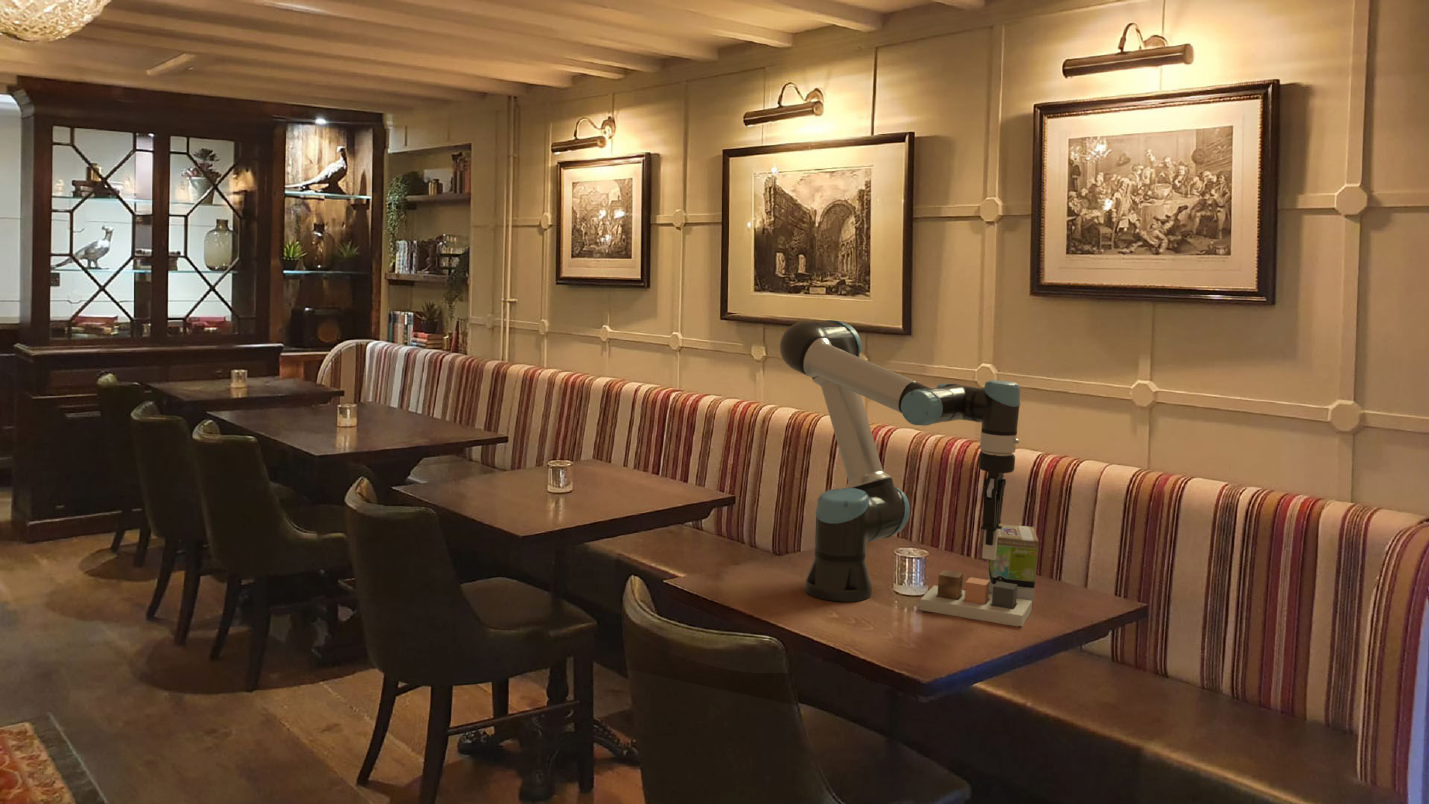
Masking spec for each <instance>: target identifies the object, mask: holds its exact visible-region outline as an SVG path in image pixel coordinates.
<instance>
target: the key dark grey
mask: <svg viewBox="0 0 1429 804" xmlns="http://www.w3.org/2000/svg"><path fill="white" fill-rule="evenodd" d="M1017 585H1018V584H1011V583H1005V582H998V581H997V582H996V583H995V585H994V586H993V596H992V606H996V607H1002V608H1009V609H1014V608H1015V607H1016V599H1017Z"/></svg>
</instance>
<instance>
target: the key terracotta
mask: <svg viewBox="0 0 1429 804" xmlns="http://www.w3.org/2000/svg"><path fill="white" fill-rule="evenodd" d="M964 586H965V587H964V590H965V599H964V601H965V602H971V603H978V604H984V605H986V604H987V602H988V601H989V594H990V591H989V586H990V580H988V579H984V578H978V577H968V579H967V580H966V581H965V584H964Z"/></svg>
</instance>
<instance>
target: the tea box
mask: <svg viewBox="0 0 1429 804" xmlns="http://www.w3.org/2000/svg"><path fill="white" fill-rule="evenodd" d="M999 526H1002V529H997V530H998V538H997V551H996V559H995V560H991V559H988V560H989V564H988V574H987V580H990V586H989V594H992V595H993V586H994V585H995V583H996V582H997V581H998V582H1005V583H1011V584H1018V585H1017V599H1024V600H1030V601H1032V603H1033V602H1034V597H1035V587H1036V586H1035V585H1036V578H1037V577H1036V576H1037V575H1036V574H1037V567H1038V566H1037V565H1038V557H1039V556H1038V553H1039V543H1040V542H1039V539H1038V535H1037V533H1036V530H1035V527H1034V526H1026V525H1016V524H1015V525H1012V524H1003V523H1000V524H999Z"/></svg>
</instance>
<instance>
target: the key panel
mask: <svg viewBox="0 0 1429 804" xmlns="http://www.w3.org/2000/svg"><path fill="white" fill-rule="evenodd" d="M937 595H938V585H935V584H934V585H933V586H932V587H931V588H930V589H929V590H928V591H927V592H926V593H925V594H924V595H923V596H922V597H921V598H920V602H919V603H920V604H919V611H924V612H929V613H935V614H940V615H941V614H943V615H946V616H954V617H960V618H965V619H972V620H977V621H983V622H989V623H996V624H999V625H1000V624H1001V625H1007V626H1008V625H1009V626H1014V627H1018V626H1021V627H1020V628H1023V626H1024V624H1025V622H1026V621H1027V619H1028V618H1029V616H1030V615H1031V614H1032V608H1033V607H1032V606H1033V602H1032V601H1030V600H1024V599H1016V607H1015V608H1014V609H1009V608H1002V607H996V606H992V596H993V595H992V594H990V593H989V601H988V602H987V604H986V605H984V604H978V603H971V602H965V601H964V599H965V589H962V595H961V596H960V597H959V598H958V599H957V600H955V599H949V598H943V597H937Z"/></svg>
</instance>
